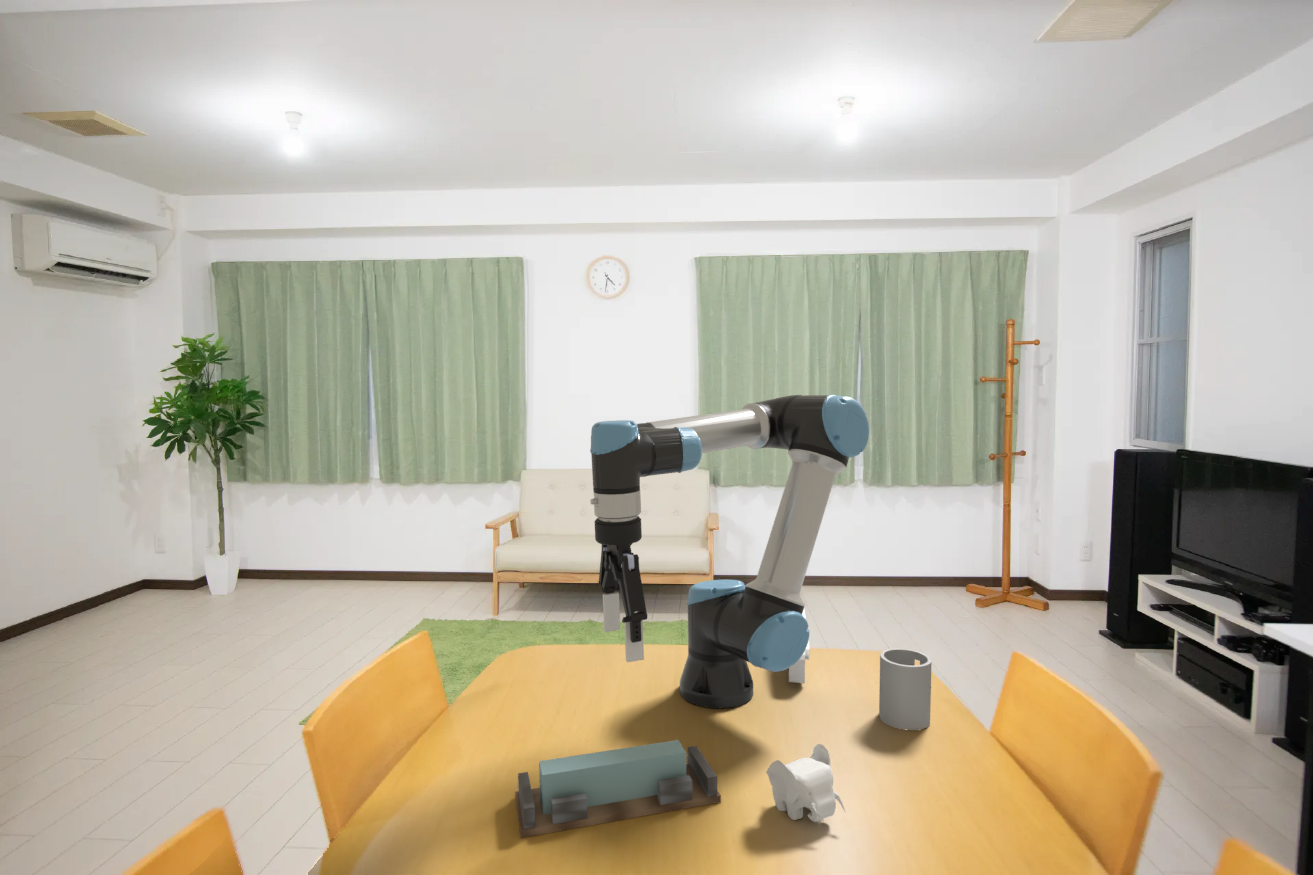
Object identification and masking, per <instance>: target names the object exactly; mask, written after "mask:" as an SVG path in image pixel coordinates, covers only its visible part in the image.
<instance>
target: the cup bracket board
mask: <svg viewBox="0 0 1313 875" xmlns="http://www.w3.org/2000/svg"><path fill="white" fill-rule="evenodd" d="M517 780H518V782H517V784H518V786H517V788H518V791H515V792H514V798H515V806H516V807H515V808H516V813H517V819H518V826H519V832H520V838H521V839H522V838H528V837H533V836H539V835H545V834H550V833H551V834H552V833H556V832H561V831H567V830H573V829H577V828H582V827H583V828H584V827H589V826H594V825H600V824H605V823H606V824H607V823H611V822H616V821H623V820H628V819H633V818H639V817H644V816H650V815H651V816H652V815H656V814H660V813H665V812H667V813H668V812H672V811H679V810H683V809H684V810H685V809H689V808H694V807H700V806H706V805H713V804H717V803H721V802H722V796H721V794H720V792H719V791H718V775H717V773H716V772H715V771H714V769H713V768H712V766H711V765H710V763H709V762H708V760H707V759H706V757H705V756H704V755H703V753H702V751H701V750H700V749H699V747H698V746H697V745H692V746H687V763H686V776H681V777H675V778H670V779H664V780H658V795H654V796H648V797H643V798H637V799H631V800H625V801H619V802H614V803H608V804H602V805H596V806H591V807H587V796H586V793H580V794H574V795H568V796H562V797H556V798H551V813H550V814H544V815H543V812H542V807H541V802H540V787H536V788H535V787H534V788H532V786H531V782H530V776H529V771H525V772H524V771H523V772H518V773H517Z"/></svg>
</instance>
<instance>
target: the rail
mask: <svg viewBox="0 0 1313 875" xmlns="http://www.w3.org/2000/svg"><path fill="white" fill-rule="evenodd" d="M686 764H687V751H686V749H685V748H684V747H683V745H682V743H681V742H680V740H679V739H675V740H674V739H673V740H669V741H662V742H655V743H648V744H643V745H637V746H636V745H635V746H631V747H623V748H617V749H609V750H603V751H602V750H601V751H597V752H595V751H594V752H590V753H583V754H577V755H570V756H569V755H568V756H562V757H555V758H551V759H544V760H538V768H539V769H538V773H539V774H538V775H539V776H538V777H539V779H538V780H539V788H540V802H541V807H542V812H543V815H544V814H550V813H551V798H556V797H562V796H568V795H574V794H580V793H586V796H587V807H591V806H596V805H602V804H608V803H614V802H619V801H625V800H631V799H637V798H643V797H648V796H654V795H658V780H664V779H670V778H675V777H681V776H686Z"/></svg>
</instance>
